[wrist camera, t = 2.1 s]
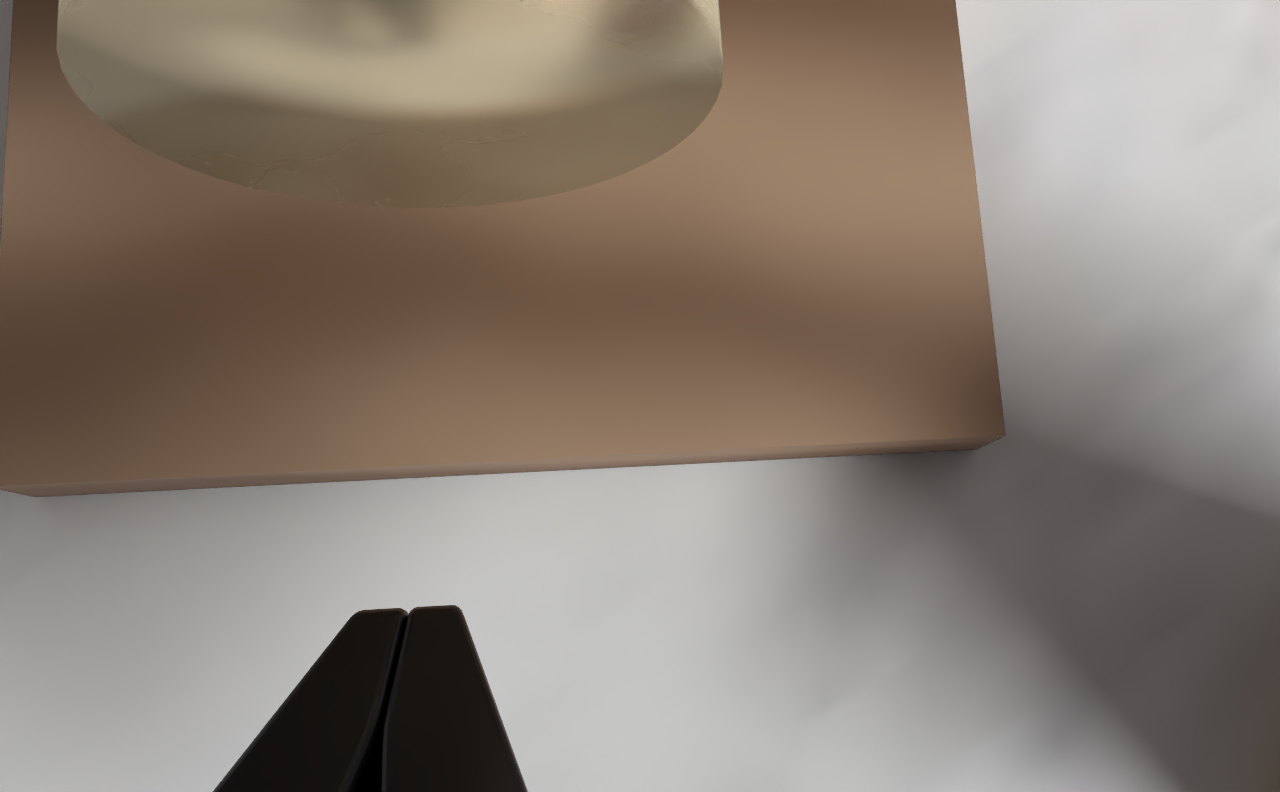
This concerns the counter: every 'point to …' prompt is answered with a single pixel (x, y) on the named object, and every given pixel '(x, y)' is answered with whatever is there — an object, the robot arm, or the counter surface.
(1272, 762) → the counter surface
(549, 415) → the bracket
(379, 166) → the knob
